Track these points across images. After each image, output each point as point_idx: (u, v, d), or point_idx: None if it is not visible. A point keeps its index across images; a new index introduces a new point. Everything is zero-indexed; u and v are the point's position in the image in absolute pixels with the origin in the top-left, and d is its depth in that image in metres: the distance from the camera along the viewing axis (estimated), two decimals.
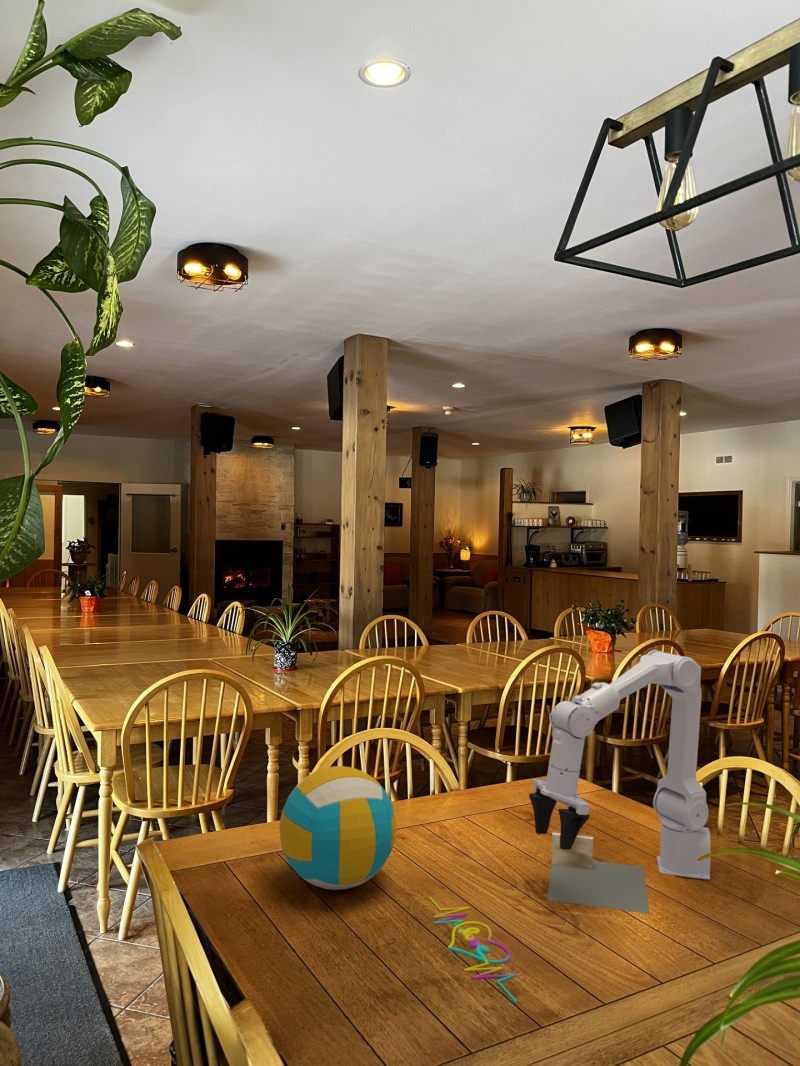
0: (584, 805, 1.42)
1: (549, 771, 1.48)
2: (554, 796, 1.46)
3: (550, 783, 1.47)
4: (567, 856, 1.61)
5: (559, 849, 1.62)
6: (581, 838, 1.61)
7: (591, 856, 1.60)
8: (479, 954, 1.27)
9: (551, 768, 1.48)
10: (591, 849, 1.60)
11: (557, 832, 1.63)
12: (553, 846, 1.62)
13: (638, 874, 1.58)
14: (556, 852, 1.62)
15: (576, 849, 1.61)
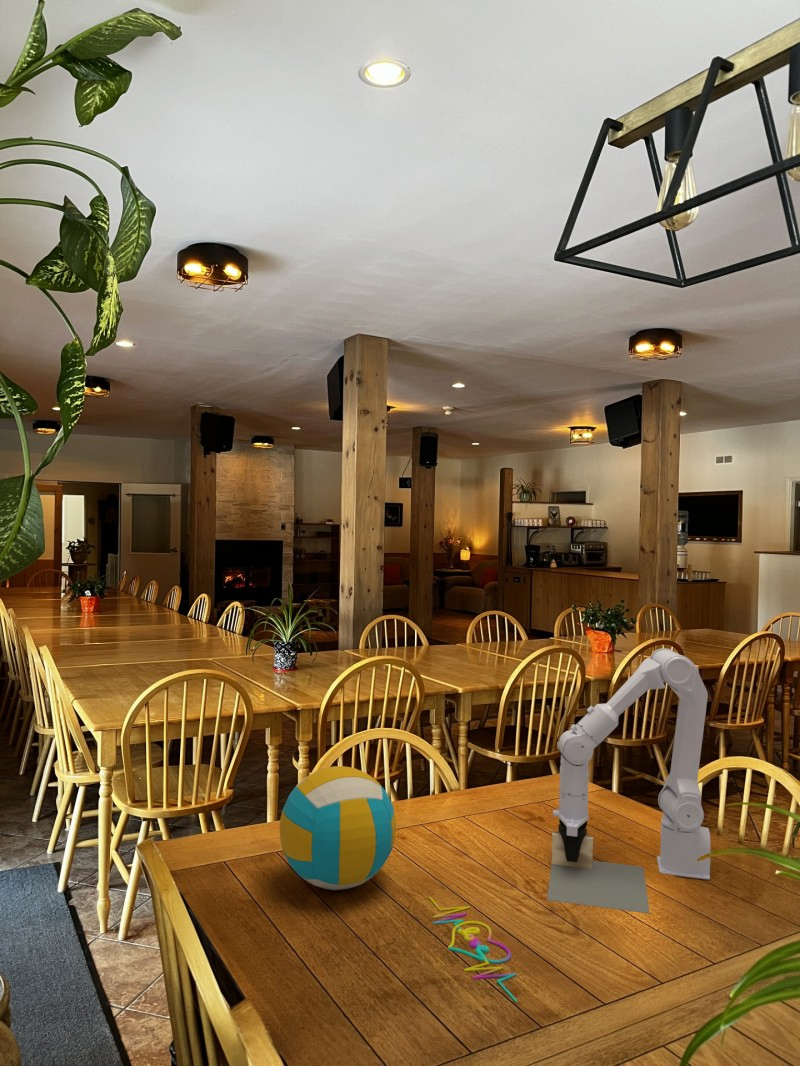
0: (571, 827, 1.55)
1: None
2: (559, 817, 1.61)
3: (559, 805, 1.62)
4: None
5: (559, 849, 1.62)
6: None
7: (591, 856, 1.60)
8: (479, 954, 1.27)
9: (559, 791, 1.62)
10: (591, 849, 1.60)
11: (557, 832, 1.63)
12: (553, 846, 1.62)
13: (638, 874, 1.58)
14: (556, 852, 1.62)
15: None
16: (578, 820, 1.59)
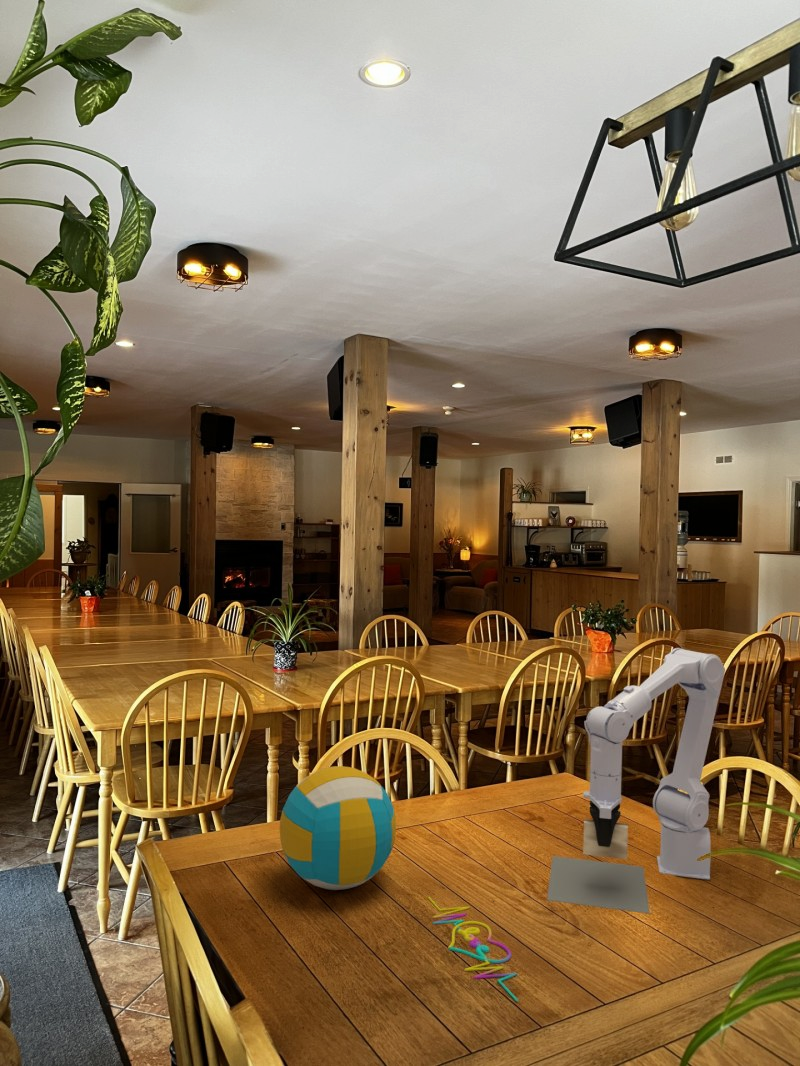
0: (604, 809, 1.45)
1: None
2: (590, 799, 1.50)
3: (590, 786, 1.52)
4: (600, 846, 1.51)
5: (591, 838, 1.51)
6: (615, 826, 1.50)
7: (626, 846, 1.50)
8: (479, 954, 1.27)
9: (590, 772, 1.52)
10: (626, 838, 1.50)
11: (589, 820, 1.53)
12: (585, 835, 1.51)
13: (638, 874, 1.58)
14: (588, 841, 1.51)
15: None
16: (611, 802, 1.48)
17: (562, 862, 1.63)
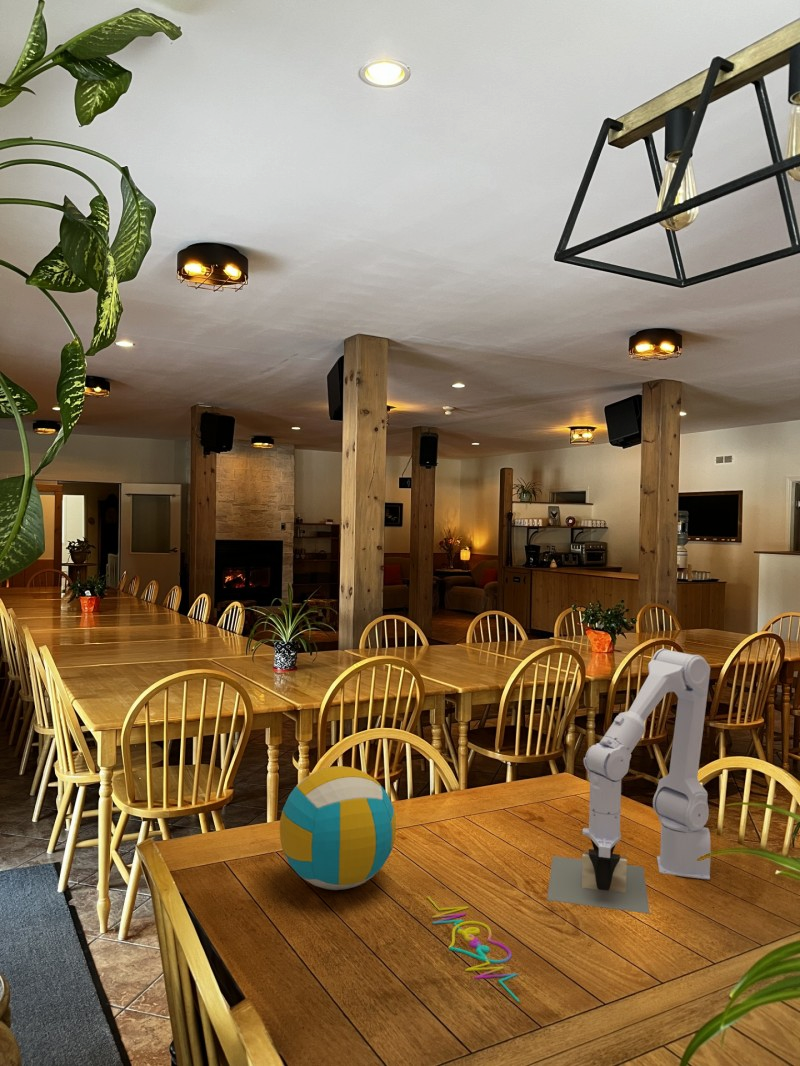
0: (603, 848, 1.45)
1: None
2: (590, 836, 1.51)
3: (589, 823, 1.52)
4: None
5: (590, 872, 1.51)
6: None
7: (625, 879, 1.50)
8: (480, 954, 1.27)
9: (589, 809, 1.52)
10: (625, 872, 1.50)
11: (588, 853, 1.53)
12: (584, 868, 1.52)
13: (638, 874, 1.58)
14: (587, 875, 1.51)
15: None
16: (610, 840, 1.49)
17: (562, 862, 1.63)
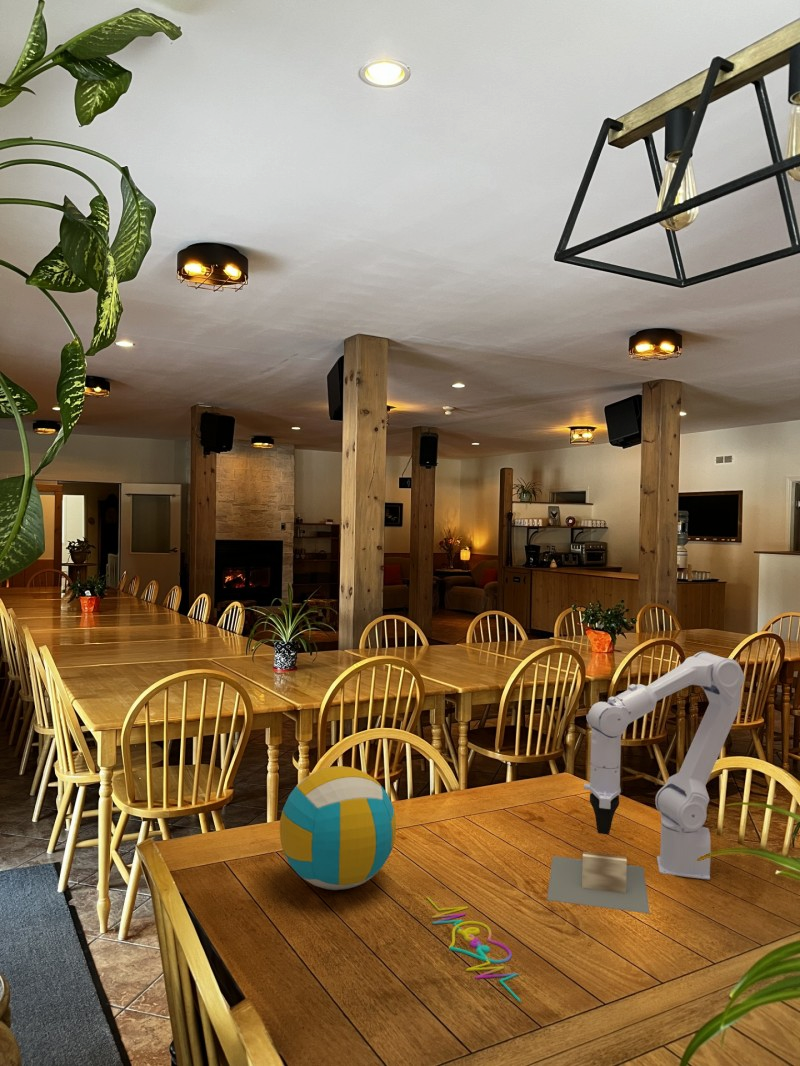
0: (604, 799, 1.51)
1: None
2: (591, 790, 1.57)
3: (590, 778, 1.59)
4: (599, 879, 1.51)
5: (590, 872, 1.51)
6: (614, 860, 1.50)
7: (625, 879, 1.50)
8: (480, 954, 1.27)
9: None
10: (625, 872, 1.50)
11: (588, 853, 1.53)
12: (584, 868, 1.52)
13: (638, 874, 1.58)
14: (587, 875, 1.51)
15: (608, 872, 1.50)
16: (610, 793, 1.55)
17: (562, 862, 1.63)
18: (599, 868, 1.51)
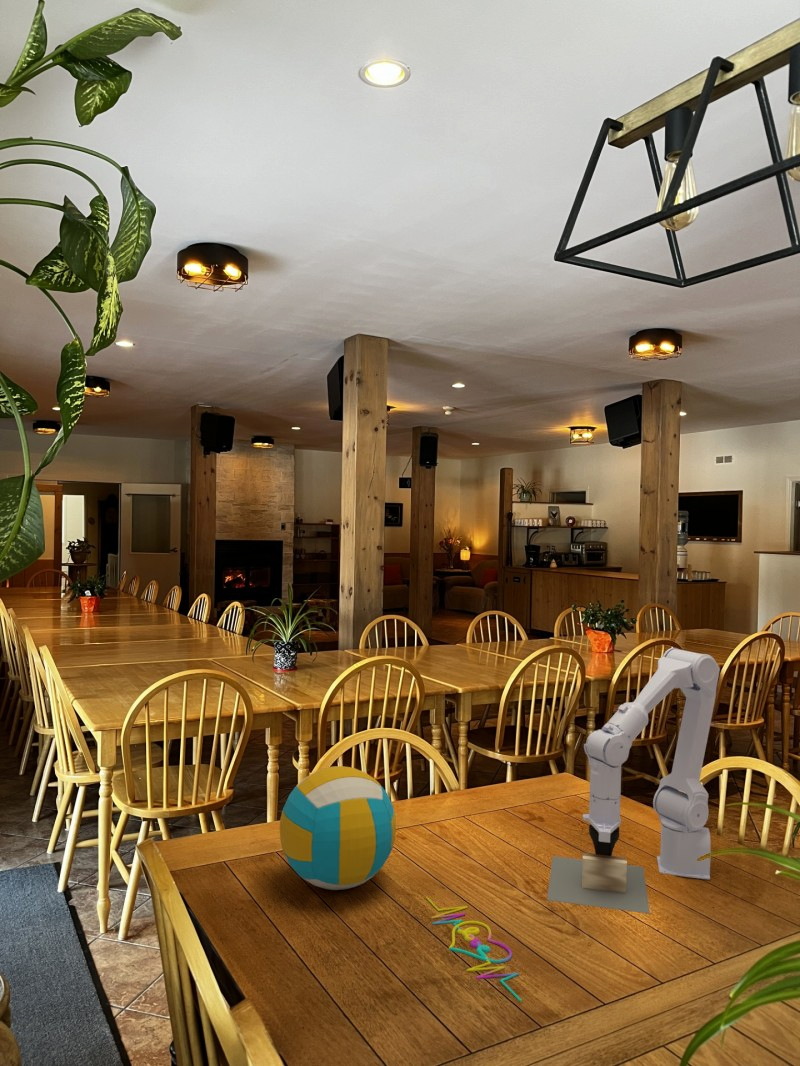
0: (603, 833, 1.46)
1: None
2: (590, 822, 1.52)
3: (589, 809, 1.53)
4: (599, 880, 1.51)
5: (590, 873, 1.51)
6: (614, 862, 1.49)
7: (625, 880, 1.49)
8: (480, 954, 1.27)
9: None
10: (625, 873, 1.49)
11: (588, 855, 1.52)
12: (584, 870, 1.51)
13: (638, 874, 1.58)
14: (587, 876, 1.51)
15: (608, 873, 1.50)
16: (610, 825, 1.50)
17: (562, 862, 1.63)
18: (599, 870, 1.50)
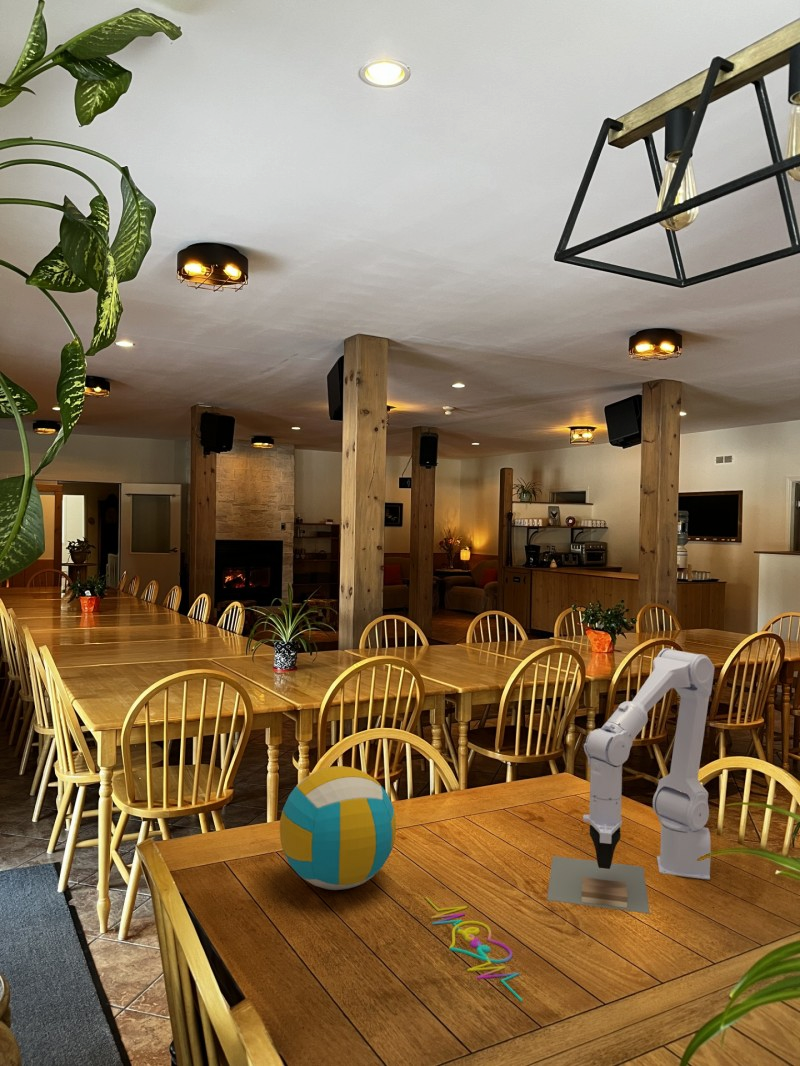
0: (604, 834, 1.43)
1: None
2: (590, 822, 1.49)
3: None
4: None
5: None
6: (614, 905, 1.45)
7: None
8: (481, 954, 1.28)
9: (590, 795, 1.51)
10: None
11: (587, 895, 1.46)
12: None
13: (638, 874, 1.58)
14: None
15: None
16: (611, 826, 1.47)
17: (562, 862, 1.63)
18: None
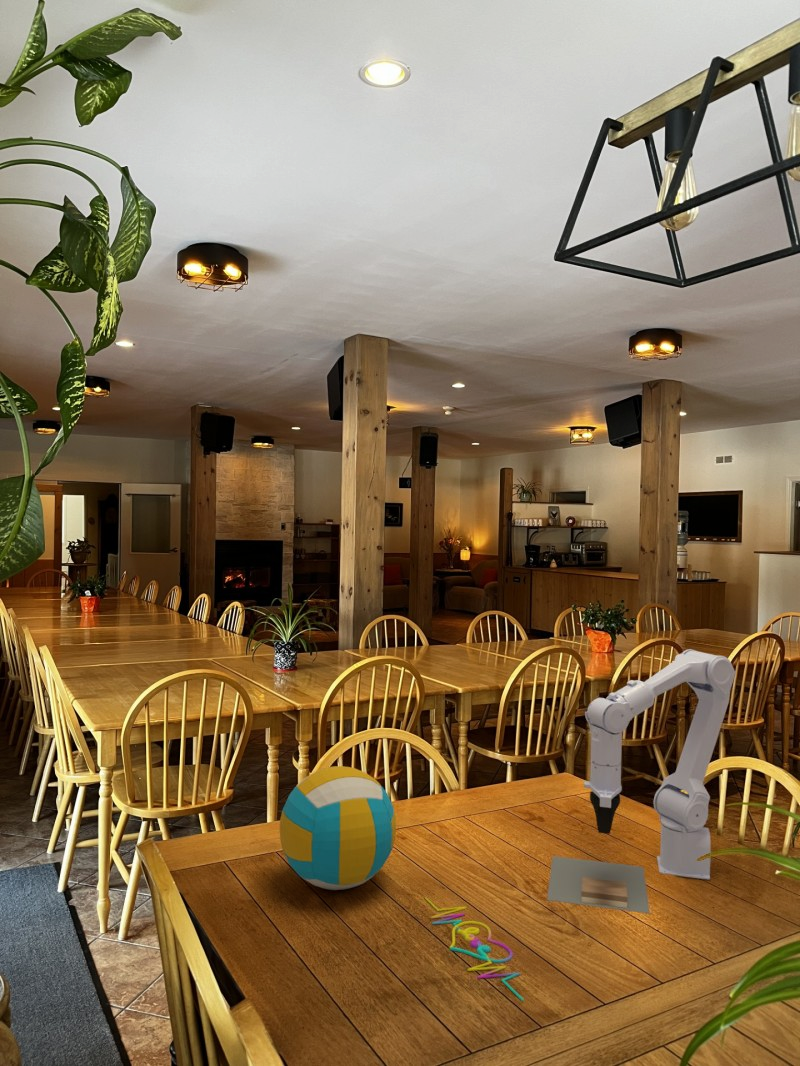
0: (604, 798, 1.47)
1: None
2: (591, 788, 1.53)
3: (590, 776, 1.55)
4: None
5: None
6: (614, 905, 1.45)
7: None
8: (481, 954, 1.28)
9: None
10: None
11: (587, 895, 1.46)
12: None
13: (638, 874, 1.58)
14: None
15: None
16: (611, 791, 1.51)
17: (562, 862, 1.63)
18: None
